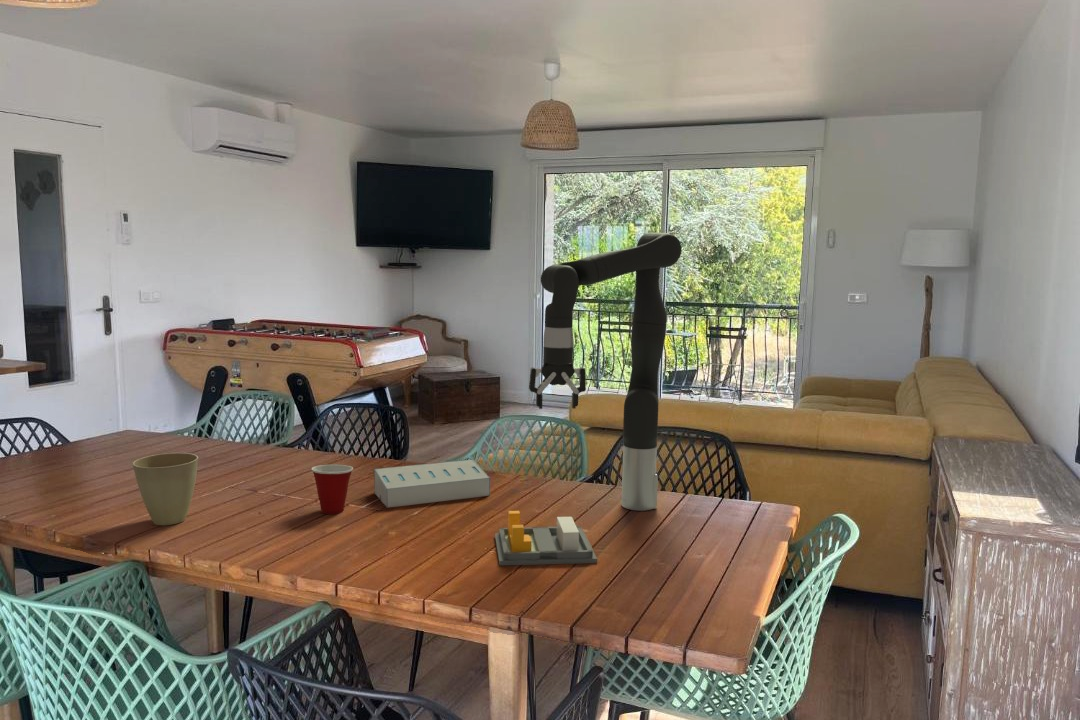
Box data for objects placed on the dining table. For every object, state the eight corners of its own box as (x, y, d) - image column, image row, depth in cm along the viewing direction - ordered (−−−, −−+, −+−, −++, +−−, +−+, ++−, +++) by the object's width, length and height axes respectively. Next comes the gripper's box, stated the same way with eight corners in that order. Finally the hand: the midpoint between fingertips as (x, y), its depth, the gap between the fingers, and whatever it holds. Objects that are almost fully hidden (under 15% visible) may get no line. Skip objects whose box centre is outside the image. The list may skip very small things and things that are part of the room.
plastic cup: (361, 506, 213) (361, 463, 212) (339, 519, 203) (339, 474, 202) (326, 502, 217) (326, 460, 215) (303, 514, 206) (302, 469, 205)
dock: (583, 535, 195) (584, 511, 194) (597, 562, 177) (597, 537, 176) (495, 537, 192) (495, 513, 191) (499, 565, 174) (499, 539, 174)
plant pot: (187, 507, 210) (185, 449, 208) (210, 521, 199) (207, 460, 197) (127, 520, 200) (124, 458, 198) (147, 535, 189) (144, 470, 187)
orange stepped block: (531, 554, 178) (531, 527, 177) (512, 555, 177) (512, 527, 177) (525, 536, 190) (526, 510, 189) (508, 536, 189) (508, 510, 188)
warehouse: (386, 509, 213) (386, 482, 212) (374, 494, 226) (374, 468, 225) (489, 496, 226) (490, 471, 225) (472, 483, 239) (472, 459, 238)
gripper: (583, 343, 202) (582, 405, 204) (528, 343, 201) (527, 405, 203) (588, 346, 195) (587, 411, 197) (531, 346, 193) (530, 411, 195)
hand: (556, 408), depth 200 cm, fingers open, 8 cm apart
